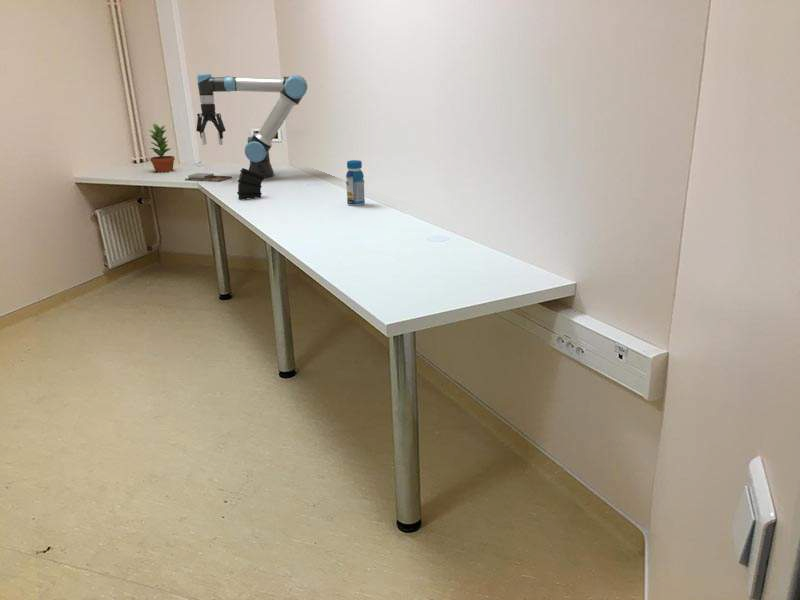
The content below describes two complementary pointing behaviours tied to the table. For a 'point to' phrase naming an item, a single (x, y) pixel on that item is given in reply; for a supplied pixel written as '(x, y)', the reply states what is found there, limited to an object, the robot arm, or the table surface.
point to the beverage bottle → (355, 183)
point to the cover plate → (201, 176)
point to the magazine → (249, 184)
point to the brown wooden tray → (215, 179)
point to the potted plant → (161, 151)
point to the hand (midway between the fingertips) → (212, 144)
